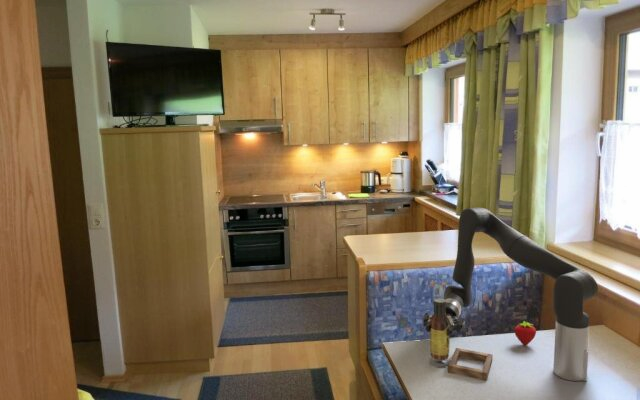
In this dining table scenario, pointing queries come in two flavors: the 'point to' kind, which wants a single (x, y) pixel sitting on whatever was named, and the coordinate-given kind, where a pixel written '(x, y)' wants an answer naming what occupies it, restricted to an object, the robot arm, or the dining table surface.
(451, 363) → the pocket frame
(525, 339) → the strawberry
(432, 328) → the sauce bottle
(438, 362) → the coaster
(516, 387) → the dining table surface
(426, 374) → the dining table surface
